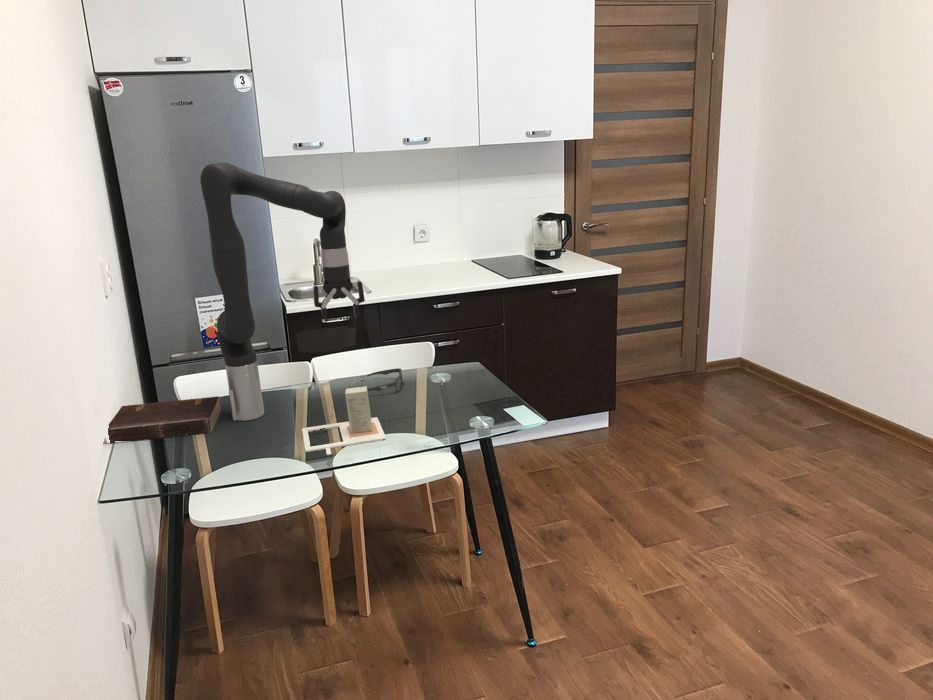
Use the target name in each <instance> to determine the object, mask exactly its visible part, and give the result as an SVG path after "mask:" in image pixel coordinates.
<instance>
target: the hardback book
mask: <svg viewBox="0 0 933 700" xmlns="http://www.w3.org/2000/svg"><path fill="white" fill-rule="evenodd" d="M221 407H222V405H221V401H220V396H218V395H217V396H208V397H200V398H191V399H190V398H189V399H180V400H179V399H178V400H177V399H176V400H169V401H160V402H148V403H138V404H137V403H136V404H130V405H129V404H128V405H122V406H121V407H120V408H119V410H118V411H117V412H116V414H115V415H114V417H112V419H111V421H110V422H109V423H108V425H109V428H108V435H109V440H110V444H115V443H114V442H115V441H131V442H139V441H150V440H157V439H167V437H169V438H174V437H173V436H178V435H186V434H188V436H195V435H205V434H211V433H212V432H213V430H214V427H215V425H216V423H217V421H218V419H219V417H220V414H221V412H220V410H221V411H222V408H221ZM219 413H220V414H219ZM178 437H179V436H178ZM110 444H109V445H110Z"/></svg>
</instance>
